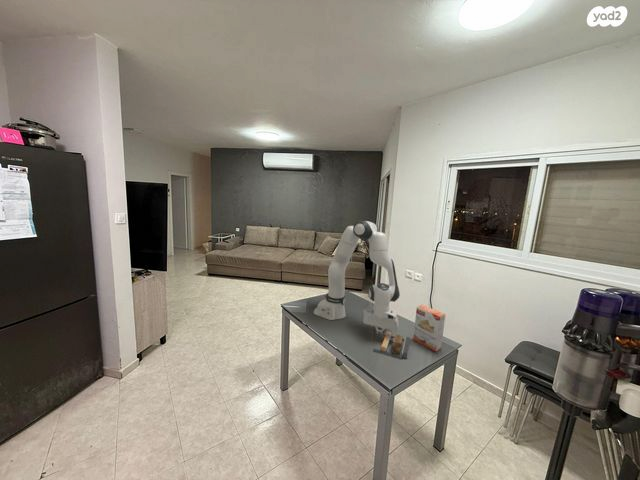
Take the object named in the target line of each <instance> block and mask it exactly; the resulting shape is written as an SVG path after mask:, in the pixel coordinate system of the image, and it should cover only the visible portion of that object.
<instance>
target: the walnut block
mask: <svg viewBox="0 0 640 480" xmlns="http://www.w3.org/2000/svg"><path fill="white" fill-rule="evenodd" d="M394 336H395V337H394V338H393V341H392V350H391V354H395V355H398V356H401V353H402V349H403V341H402V339H403V335H400V334H396V333H395V334H394Z"/></svg>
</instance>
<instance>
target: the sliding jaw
mask: <svg viewBox="0 0 640 480" xmlns="http://www.w3.org/2000/svg"><path fill="white" fill-rule="evenodd" d="M385 334H386V335H385V336H384V338H383V341H382V344H381V347H380V348H381V351H384V352H387V350H388V347H389V343H390V341H391V339H392V338H391V335H392V332H389V331H386V332H385Z"/></svg>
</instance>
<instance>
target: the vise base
mask: <svg viewBox="0 0 640 480" xmlns="http://www.w3.org/2000/svg"><path fill="white" fill-rule="evenodd" d="M379 335H380V336H383V337H385V335H386V333H383V332H382V334H379ZM394 337H395V335H392V334H391V338H390V339H394ZM410 340H411V337H410V336H405V337H404V338H403V339H402V342H403V344H402V349H401V355H399V354H395V353H392V352H387V351H385V352H384V351H381V350H380V349H377V348H373V349H372V350H373V352H375V353H378V354H381V355H385V356H388V357H393V358H396V359H399V360H403V359H406V360H407V359H408V354H409V347H410Z"/></svg>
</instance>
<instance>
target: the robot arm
mask: <svg viewBox="0 0 640 480" xmlns="http://www.w3.org/2000/svg"><path fill="white" fill-rule="evenodd" d="M387 237H388V236H387V234H385V233H384V232H382V231H380V230H379V226H378V225H377V223H375V222H373V221H368V220H359V221H356V222H355V224H354V225H347V227H346V228H345V230H344V231H343V233H342V235H341V237H340V240H339V242H338V245H337V247H336V249H335V251H334V255H333V257H332V259H331V261H330V264H329V267H328V270H327V271H328V272H327V275H328V277H327V278H328V279H327V280H328V292H327V293H326V295H325V296H324V299H323V300H320V302H318V304H317V307H315V308H314V309H313V314H314V315H315V316H318V317H320V318H323V319H327V320H329V321H334V320H342V319H344V318H346V309H345V302H346V296H345V293H346V292H345V291H346V290H345V287H346V270H347V267H348V265H349V262H350V261H351V258H352V256H353V254H354V252H355V249H356V247H357V244H358V242H359V240H360V239H362V240H365V241H367V242H368V244H369V247H368V248H369V253H368V254H369V259H370V261H371V262H372V263H374V264H375V265H377V266H379V267H381V268H384V269H385V270H386V272H387V275H388V276H387V277H388V284H386V283H384V282H380V283H379V282H378V283H376V284H371V285H370V286H369V288H368V292H367V293H368V294H367V295H368V298H369V299H370V300H371V301H372V302H374V304H373V309H370V308H365V309H363V312H362V313H363V318H362V323H363V324H364V325H368V326H372V327H375V330H376V334H378V335H380V334H382V333H383V332H384V331H385V330H390V331H393V332H397V331H398V330H399V318H398V312H397V311H396V310H393V309H391V307H390V302H396V301H397V300H398V299H400V296H401V295H400V289H399V284H398V280H397V272H396V268H395V266H396V265H395V263H394V260H393V259H392V258H391V257H390V255H389V250H388V249H389V246H388V238H387ZM379 328H380V329H379Z"/></svg>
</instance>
